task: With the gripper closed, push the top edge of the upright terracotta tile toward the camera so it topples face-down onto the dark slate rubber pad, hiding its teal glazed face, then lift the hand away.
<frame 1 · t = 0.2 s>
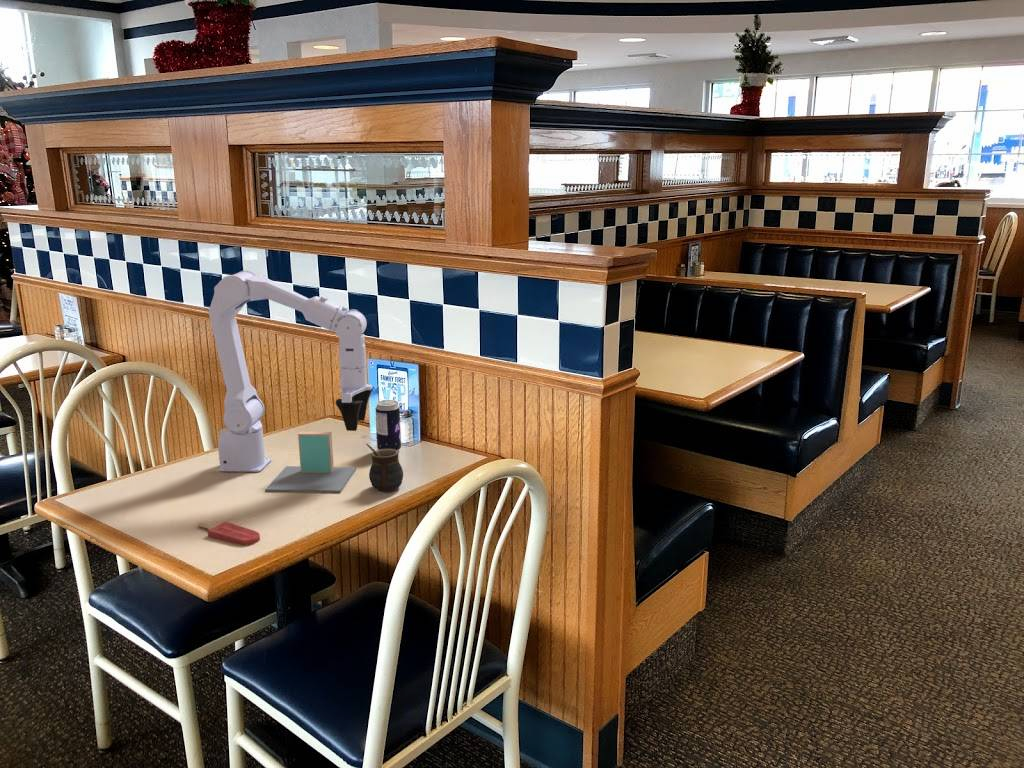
hand: (355, 425, 184), 10 cm above the table, tool pointing down, fingers open, 7 cm apart
mate gourd: (386, 489, 174), on the table
slate pad: (312, 480, 178), on the table
beverage can: (389, 451, 197), on the table
popsicle: (227, 537, 152), on the table
tile: (317, 471, 182), resting on slate pad
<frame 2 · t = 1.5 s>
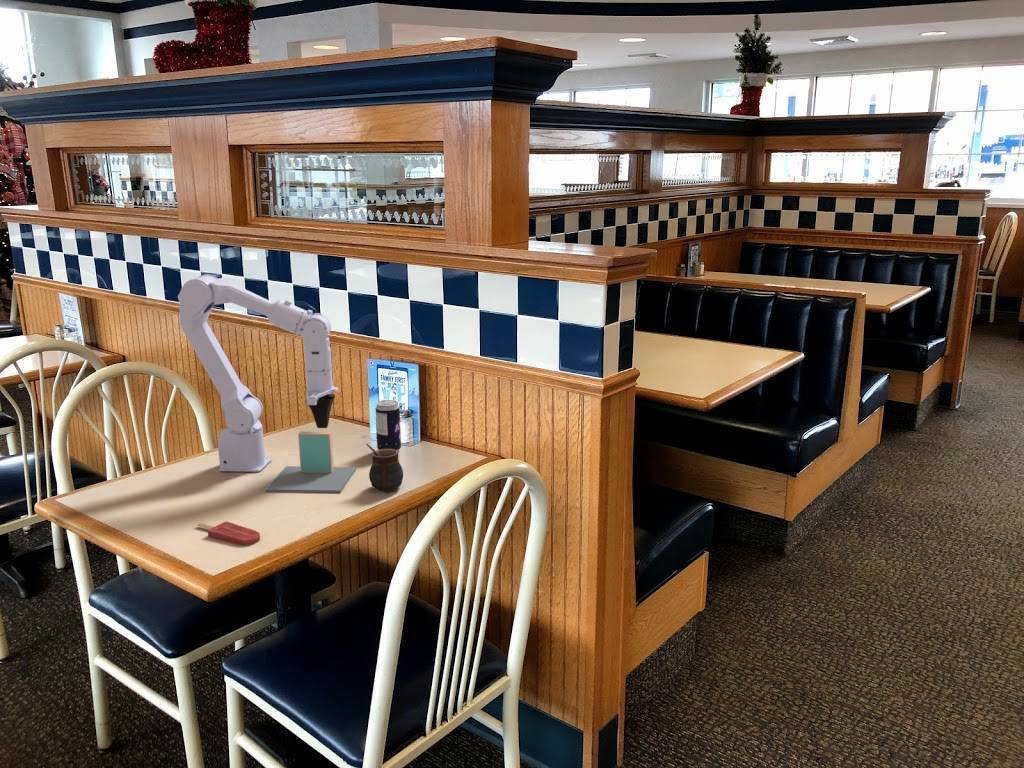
hand: (322, 427, 186), 9 cm above the table, tool pointing down, fingers closed
nothing on the table moved.
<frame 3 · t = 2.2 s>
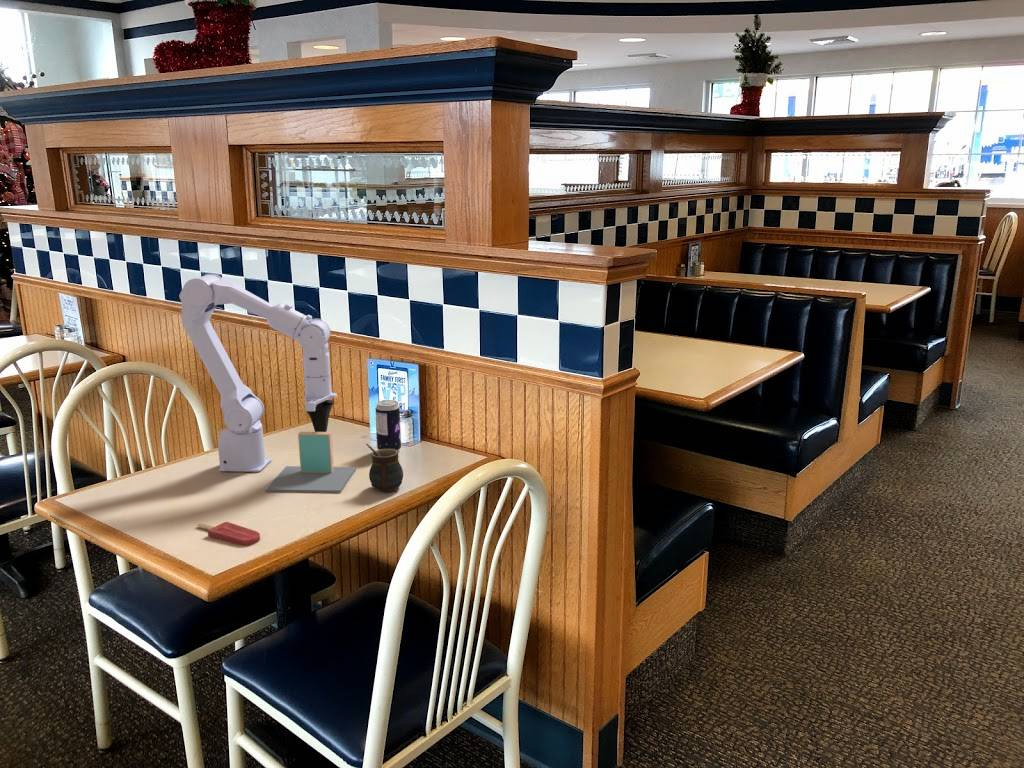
hand: (321, 433, 185), 8 cm above the table, tool pointing down, fingers closed
nothing on the table moved.
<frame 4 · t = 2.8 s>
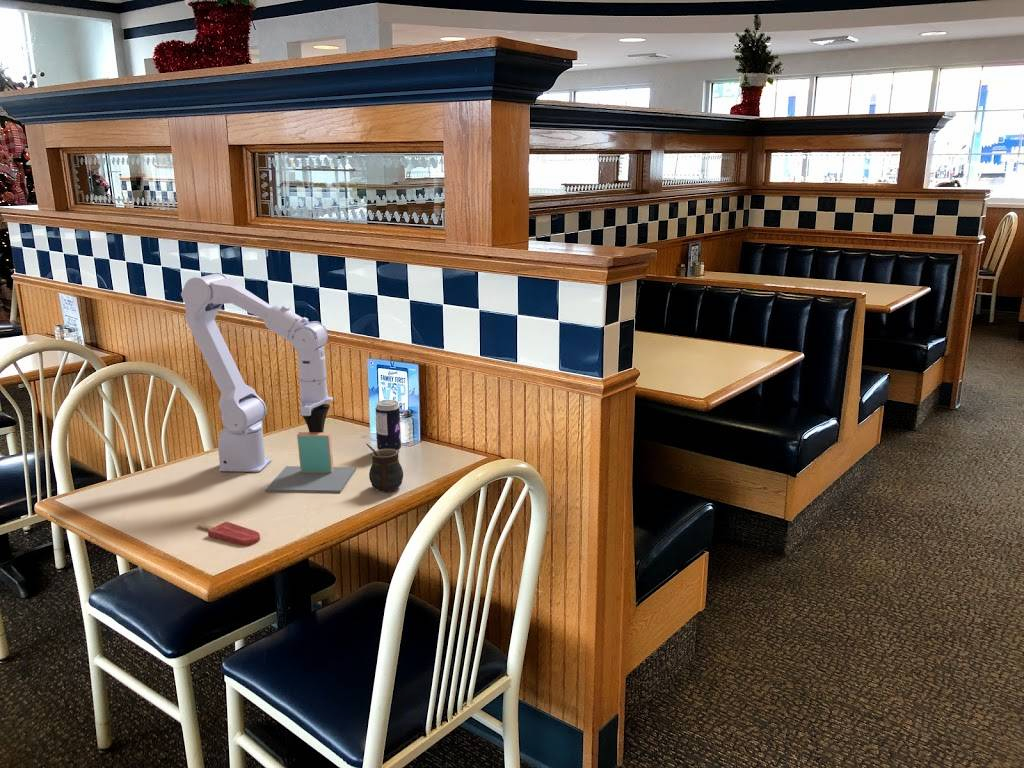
hand: (316, 438, 181), 8 cm above the table, tool pointing down, fingers closed
nothing on the table moved.
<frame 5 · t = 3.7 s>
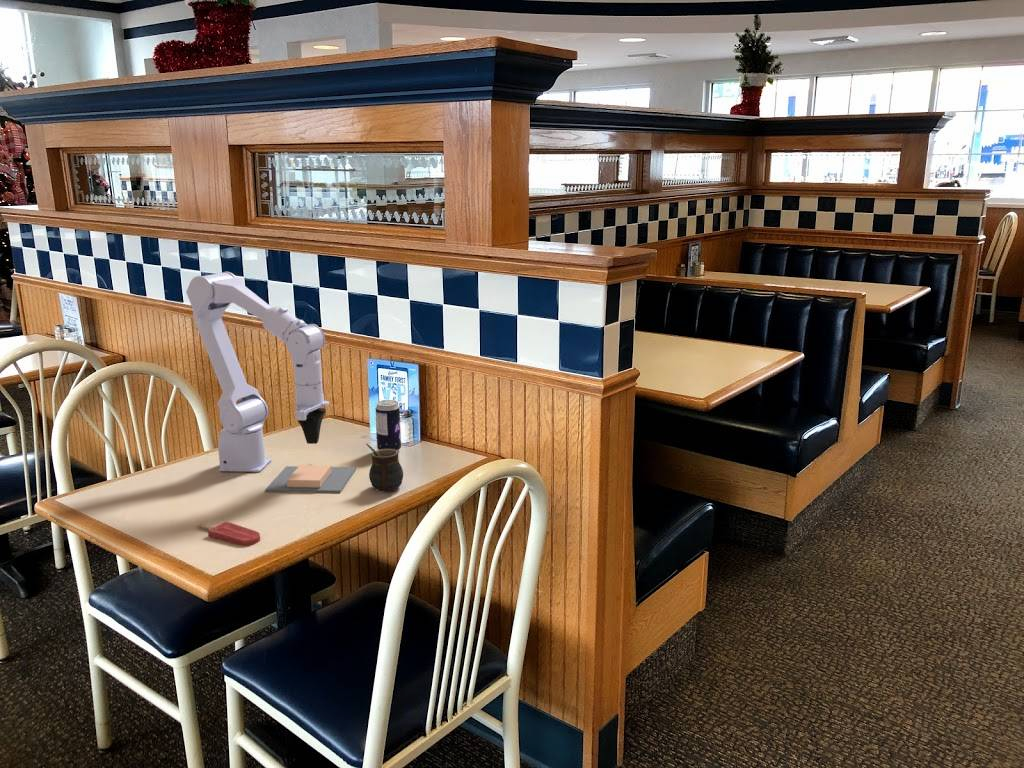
hand: (312, 442, 178), 8 cm above the table, tool pointing down, fingers closed
tile: (315, 468, 181), point 1 cm above the table, tilted 90°, touching slate pad
everything else where it was.
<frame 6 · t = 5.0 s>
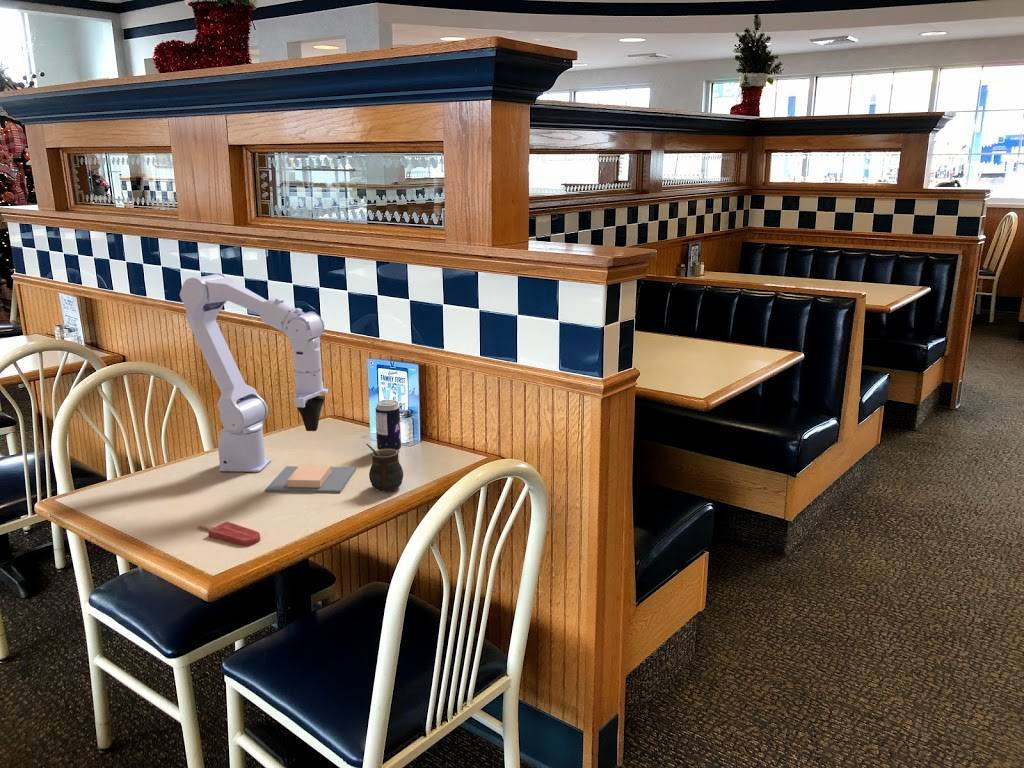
hand: (311, 430, 179), 10 cm above the table, tool pointing down, fingers closed
nothing on the table moved.
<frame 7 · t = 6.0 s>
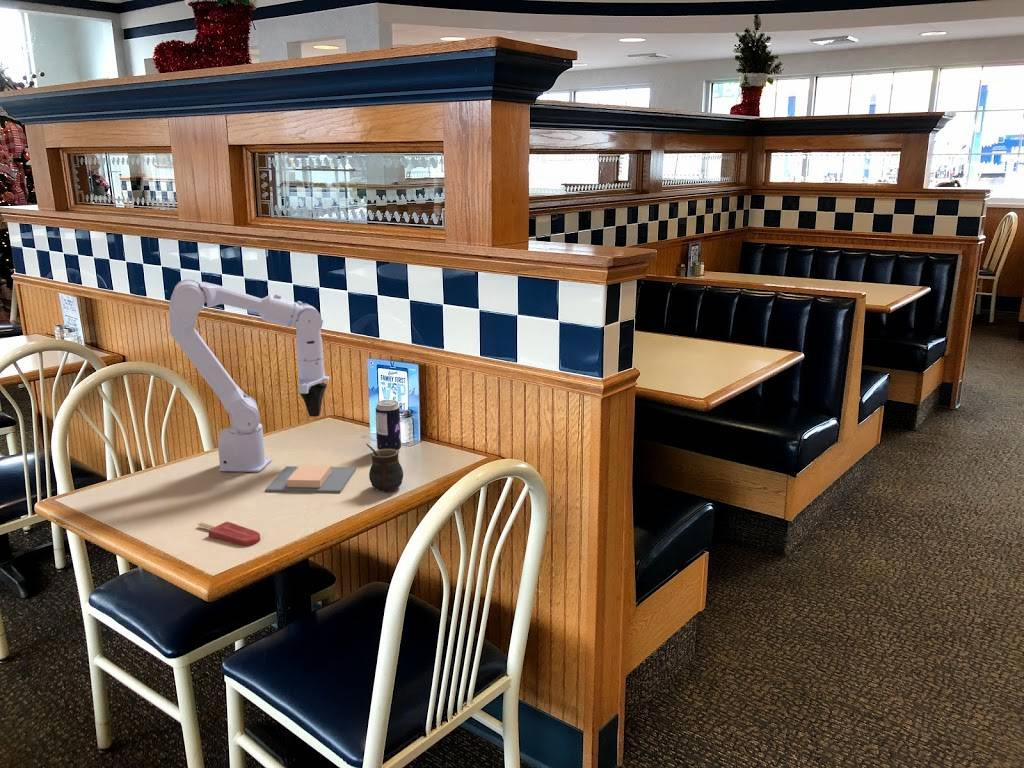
hand: (314, 415, 189), 10 cm above the table, tool pointing down, fingers closed
nothing on the table moved.
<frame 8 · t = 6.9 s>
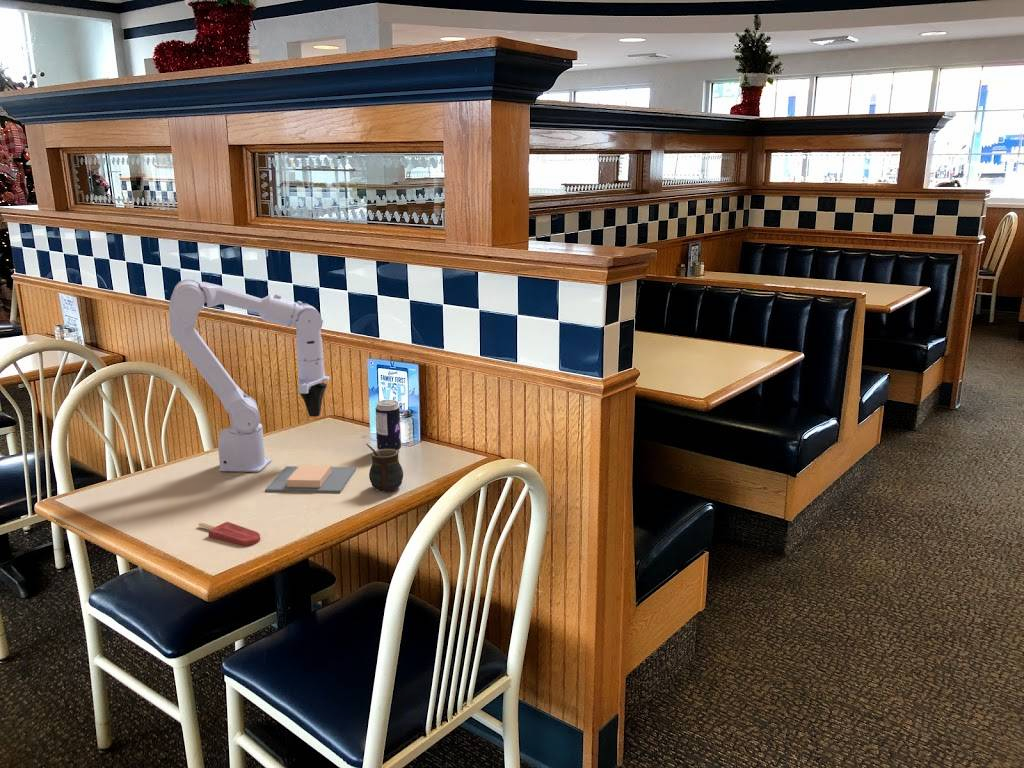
hand: (314, 415, 189), 10 cm above the table, tool pointing down, fingers closed
nothing on the table moved.
at the end: tile tilted 90°; tile inside the target area (0.5 cm from its centre), point 1.5 cm above the table; tile touching slate pad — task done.
